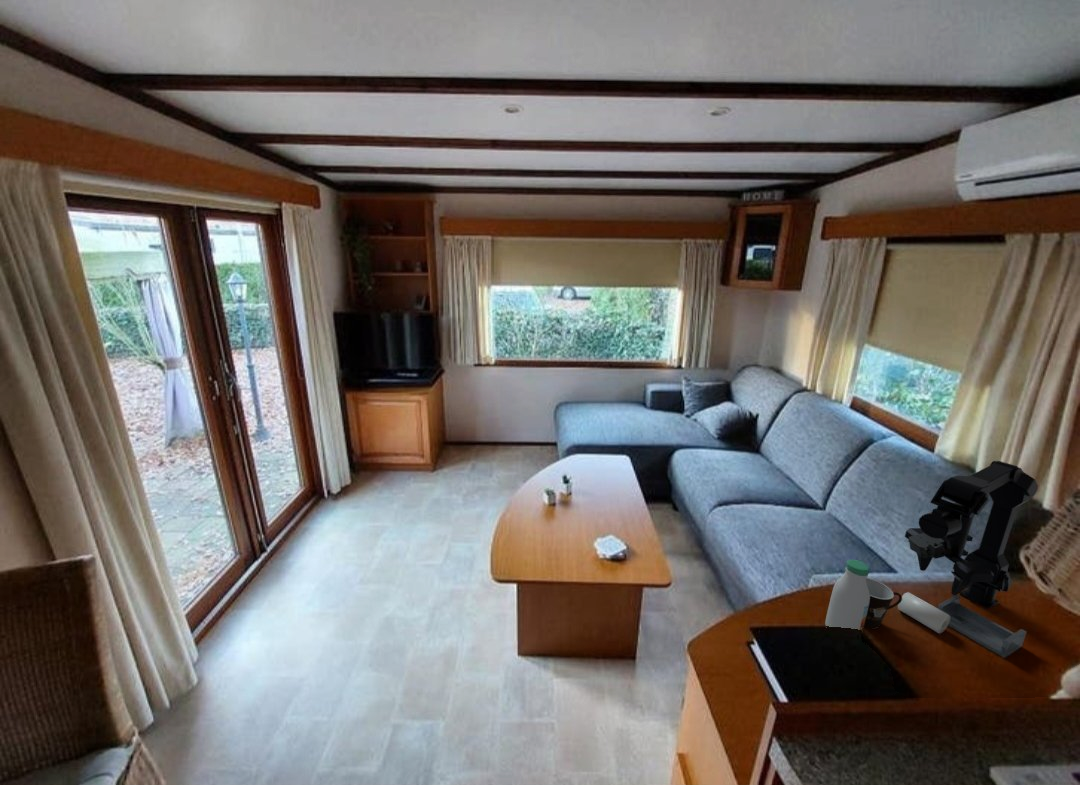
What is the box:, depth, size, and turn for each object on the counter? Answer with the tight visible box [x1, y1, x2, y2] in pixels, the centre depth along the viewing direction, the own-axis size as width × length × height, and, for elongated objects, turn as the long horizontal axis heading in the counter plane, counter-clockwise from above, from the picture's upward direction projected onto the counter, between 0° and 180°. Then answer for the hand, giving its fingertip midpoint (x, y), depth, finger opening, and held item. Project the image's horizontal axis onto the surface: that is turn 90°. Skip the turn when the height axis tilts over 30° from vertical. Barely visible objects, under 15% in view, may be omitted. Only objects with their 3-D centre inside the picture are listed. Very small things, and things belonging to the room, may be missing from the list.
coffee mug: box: [864, 577, 903, 629], centre depth 114 cm, size 12×9×10 cm
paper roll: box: [897, 591, 950, 634], centre depth 115 cm, size 9×6×6 cm, turn 24°
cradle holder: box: [937, 594, 1028, 659], centre depth 112 cm, size 9×14×4 cm, turn 24°
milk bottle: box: [824, 559, 870, 632], centre depth 109 cm, size 8×8×20 cm
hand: (937, 581), depth 111 cm, fingers open, 9 cm apart
